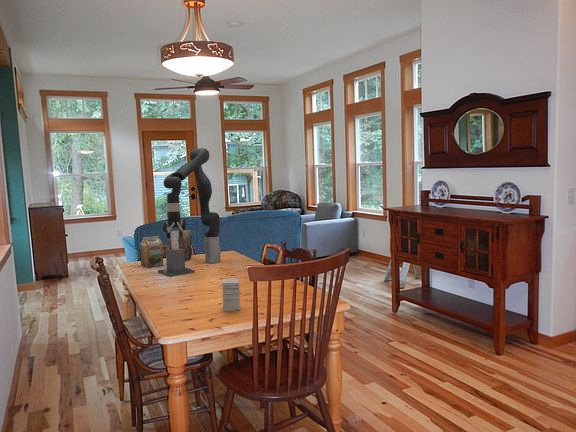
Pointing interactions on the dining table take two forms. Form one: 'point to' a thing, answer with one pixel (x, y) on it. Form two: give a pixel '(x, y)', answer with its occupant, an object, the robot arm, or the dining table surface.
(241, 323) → the dining table surface
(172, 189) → the robot arm
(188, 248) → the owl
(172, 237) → the column
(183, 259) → the stand housing
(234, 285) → the supplement box
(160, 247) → the milk carton
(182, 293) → the dining table surface
